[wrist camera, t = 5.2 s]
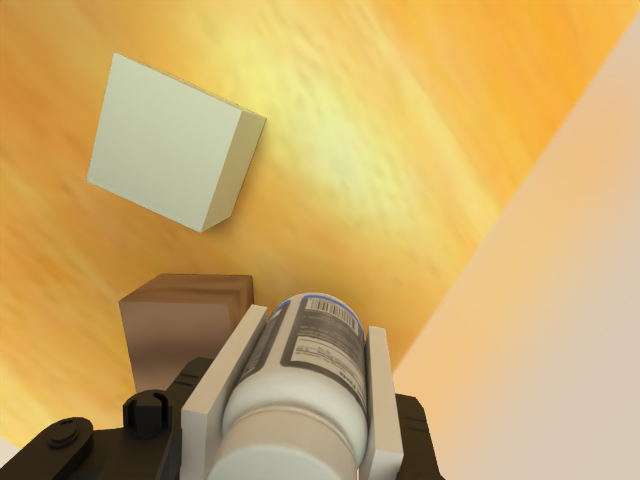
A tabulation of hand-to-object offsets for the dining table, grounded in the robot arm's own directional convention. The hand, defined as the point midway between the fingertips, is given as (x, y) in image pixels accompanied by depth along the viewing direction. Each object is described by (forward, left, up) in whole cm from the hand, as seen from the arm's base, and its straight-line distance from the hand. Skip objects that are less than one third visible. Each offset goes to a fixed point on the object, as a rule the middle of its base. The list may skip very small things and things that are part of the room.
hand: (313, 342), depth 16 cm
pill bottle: (0, 0, -1) cm, 1 cm away
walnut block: (+9, -11, -15) cm, 20 cm away
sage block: (-7, -13, -15) cm, 21 cm away
